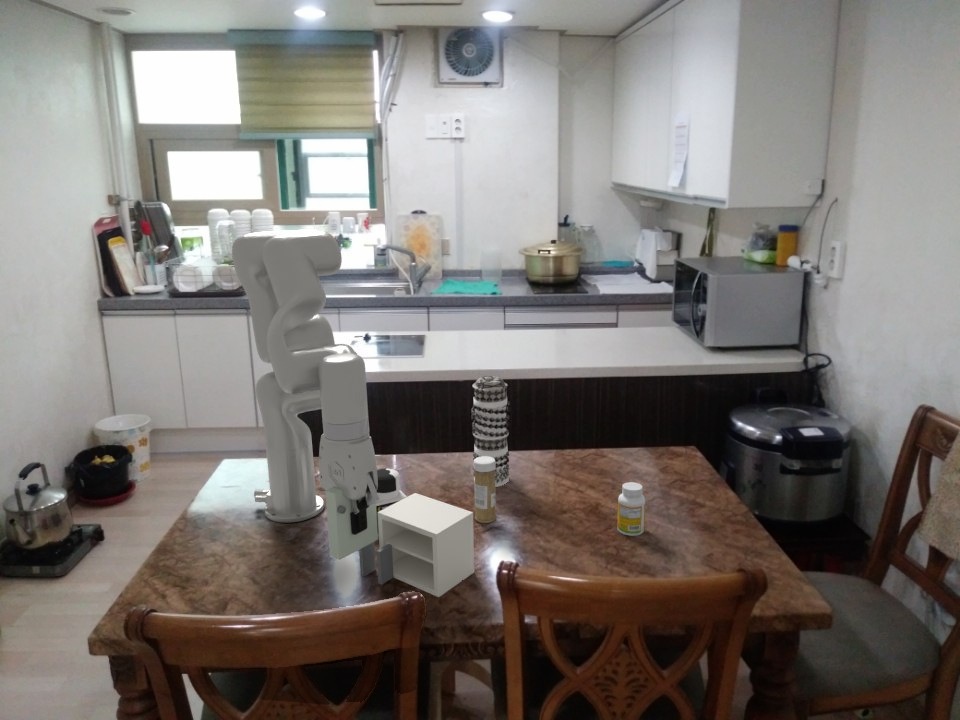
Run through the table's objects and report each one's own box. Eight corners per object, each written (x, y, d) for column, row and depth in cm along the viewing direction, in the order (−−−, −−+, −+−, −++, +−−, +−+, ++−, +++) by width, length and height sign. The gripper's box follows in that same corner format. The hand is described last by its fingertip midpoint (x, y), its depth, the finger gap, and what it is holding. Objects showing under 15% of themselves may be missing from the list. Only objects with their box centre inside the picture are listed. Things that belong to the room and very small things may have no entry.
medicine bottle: (376, 537, 147) (373, 482, 144) (365, 522, 153) (361, 469, 150) (409, 528, 150) (407, 474, 147) (396, 515, 156) (394, 462, 153)
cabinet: (360, 575, 133) (356, 515, 130) (409, 546, 143) (406, 490, 140) (427, 605, 124) (424, 541, 121) (474, 572, 134) (473, 512, 130)
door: (330, 556, 124) (325, 490, 121) (368, 535, 131) (364, 473, 128) (342, 561, 122) (338, 495, 119) (381, 540, 129) (377, 477, 126)
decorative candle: (515, 485, 170) (515, 382, 164) (476, 489, 168) (475, 385, 162) (505, 470, 178) (504, 372, 172) (468, 474, 176) (466, 375, 170)
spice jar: (500, 520, 153) (499, 460, 150) (482, 526, 151) (481, 465, 147) (488, 512, 157) (487, 453, 154) (470, 517, 155) (469, 458, 151)
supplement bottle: (627, 521, 152) (628, 478, 149) (649, 530, 148) (651, 485, 146) (611, 530, 148) (613, 486, 146) (634, 539, 144) (636, 494, 142)
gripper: (297, 425, 123) (305, 525, 128) (363, 444, 114) (370, 551, 118) (330, 413, 129) (338, 509, 133) (396, 430, 119) (402, 533, 124)
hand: (353, 528), depth 126 cm, fingers closed on door, 2 cm apart
